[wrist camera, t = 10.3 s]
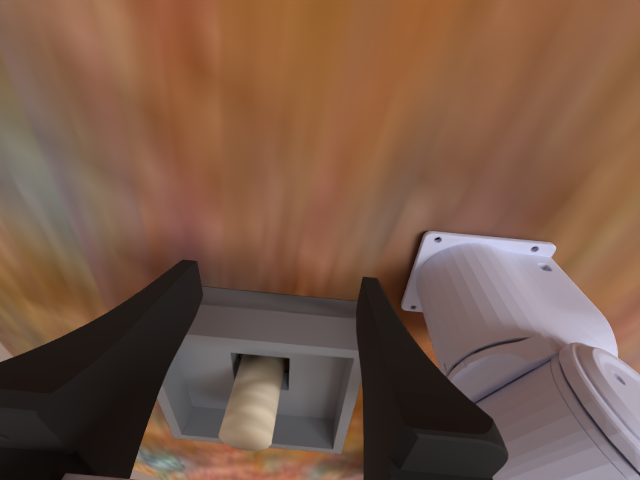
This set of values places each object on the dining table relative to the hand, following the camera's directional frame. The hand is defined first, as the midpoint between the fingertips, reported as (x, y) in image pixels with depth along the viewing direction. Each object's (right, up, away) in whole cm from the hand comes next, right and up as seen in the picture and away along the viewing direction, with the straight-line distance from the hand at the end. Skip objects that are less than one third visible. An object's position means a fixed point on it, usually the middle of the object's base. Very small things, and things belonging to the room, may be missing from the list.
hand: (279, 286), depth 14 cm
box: (-4, -10, +19) cm, 21 cm away
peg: (-4, -10, +18) cm, 21 cm away
